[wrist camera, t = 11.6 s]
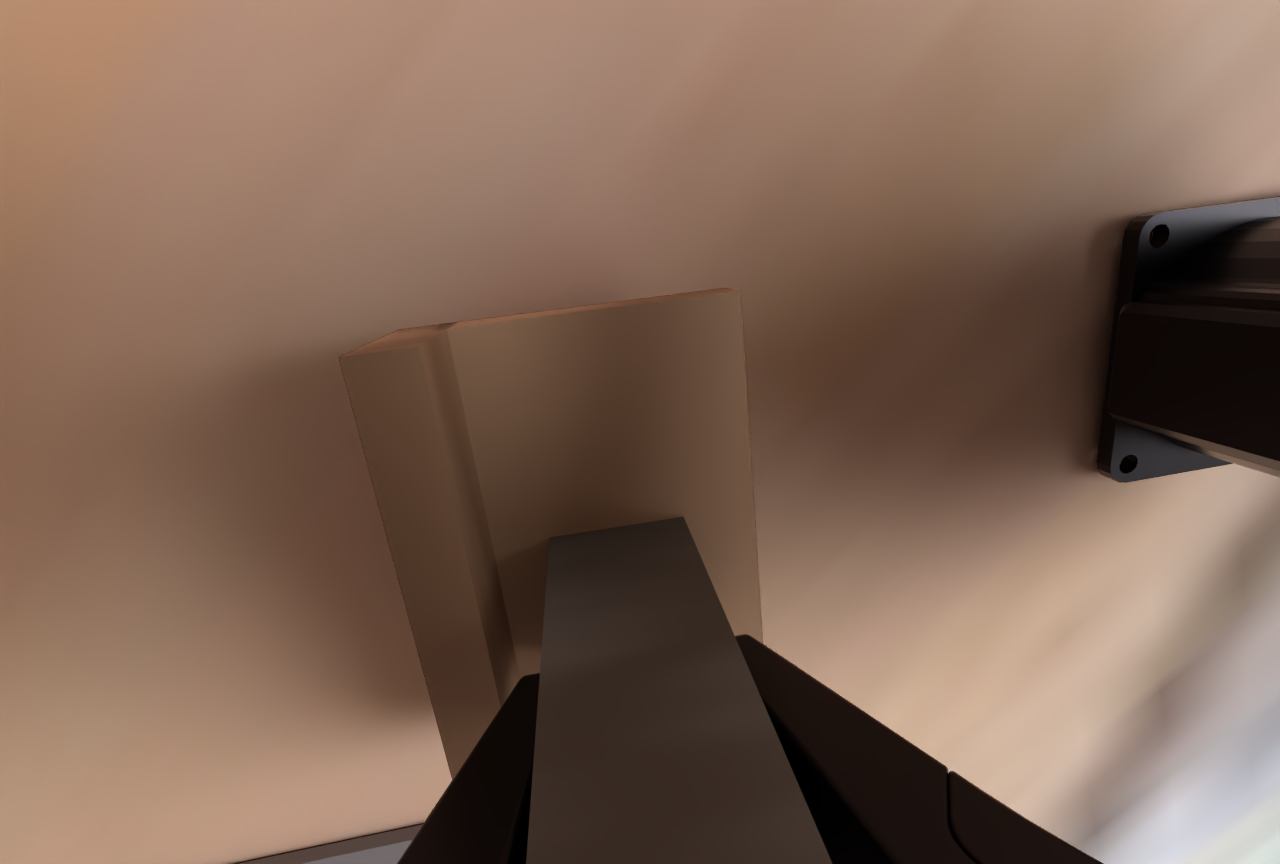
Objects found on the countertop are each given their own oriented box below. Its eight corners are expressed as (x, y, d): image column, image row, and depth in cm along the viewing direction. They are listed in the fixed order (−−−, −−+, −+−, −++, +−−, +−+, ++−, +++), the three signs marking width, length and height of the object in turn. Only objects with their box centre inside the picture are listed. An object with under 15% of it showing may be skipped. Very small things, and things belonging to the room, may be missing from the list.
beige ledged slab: (725, 288, 11) (1118, 378, 3) (757, 736, 14) (994, 1351, 6) (399, 329, 10) (-109, 557, 3) (505, 782, 13) (417, 1506, 6)
